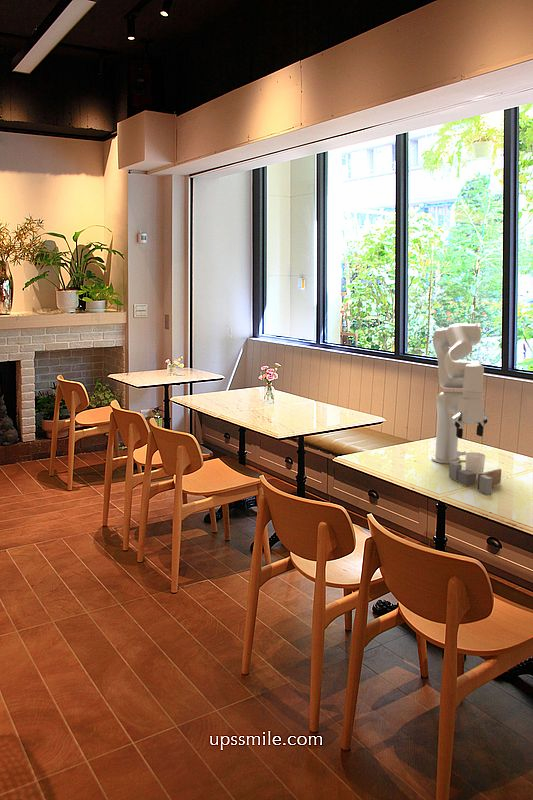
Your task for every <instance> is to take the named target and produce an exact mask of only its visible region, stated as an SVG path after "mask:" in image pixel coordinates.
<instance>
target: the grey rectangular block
mask: <svg viewBox="0 0 533 800" xmlns="http://www.w3.org/2000/svg"><path fill="white" fill-rule="evenodd" d="M456 482H457V483H459V484H461V485H462V484H463V486H464V485H465V487H472V486H476V484H477V480H476V473H474V472H472V471H469V470H466V469H461V470H459V471H458V480H456Z"/></svg>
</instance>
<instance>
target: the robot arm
mask: <svg viewBox="0 0 533 800" xmlns="http://www.w3.org/2000/svg"><path fill="white" fill-rule="evenodd" d="M432 336H433V337H432V343H433V348H434V352H435V354H436V357H437V368H438V371H437V372H438V383H439V386H440V388H442V389H445V390H462V391H442V392H439V393H438V394H437V396H436V403H435V404H436V412H437V413H436V415H437V420H436V439H435V454H434V455H432V456H431V460H432V461H433V462H436V463H440V464H447V465H448V464H449V465H450V462H456V463H460V462H461V456H463V457H464V456H466V453H467V452H466V450H464V451H463V450H462V451H460V450H458V446H459V445H458V444H459V439H463V436H464V435H463V433H464V432H463V431H464V429H463V427H464V426H465V425H466V424H477V426H476V435H477V436H479V437H483V436H484V427H485V426H486V424H487V423H488V421H489V419H490V414H488V413H486V412H485V404H484V398H483V395H485V392H484V390H483V387H484V386H483V385H484V374H485V368H484V366H483V364H482V363H481V362H480V361H478V360H462V359H464V358H466V357H467V356H469V355H470V354H471V352H472V349H473V347H474V346H476V345H478V344H479V343H480V341H481V338H482V331H481V329H480V327H479V326H478V325H477V324H474V323H454V324H451V325H448V327H443V328H438V329H436V330H434V332H433V335H432ZM454 414H455V415H454Z"/></svg>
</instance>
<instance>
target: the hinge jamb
mask: <svg viewBox="0 0 533 800" xmlns="http://www.w3.org/2000/svg"><path fill="white" fill-rule="evenodd" d="M492 488H493V486H492V478H491V477H488V476H486V475H481V476H480V482H479V490H478V492H479V493H482V494H483V495H486V496H487V495H489V496H490V495H492Z"/></svg>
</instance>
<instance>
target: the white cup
mask: <svg viewBox="0 0 533 800" xmlns="http://www.w3.org/2000/svg"><path fill="white" fill-rule="evenodd" d="M485 460H486V454H484V453H482V452H475V451H474V452H472V451H470V452H466V455H465V470H469V471H472V472H474V473H476V481H478V474H479V473H484V469H485V462H486V461H485Z"/></svg>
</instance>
